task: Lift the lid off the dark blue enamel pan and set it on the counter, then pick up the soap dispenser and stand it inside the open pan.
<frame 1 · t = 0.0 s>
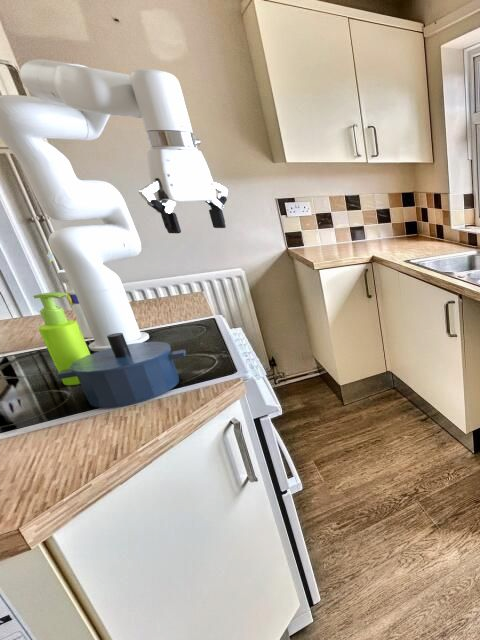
hand: (198, 230, 91), 31 cm above the worktop, tool pointing down, fingers open, 9 cm apart
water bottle: (100, 334, 126), on the worktop
pan: (136, 390, 89), on the worktop
soap dispenser: (84, 380, 95), on the worktop
pan lid: (123, 358, 86), point 7 cm above the worktop, touching pan
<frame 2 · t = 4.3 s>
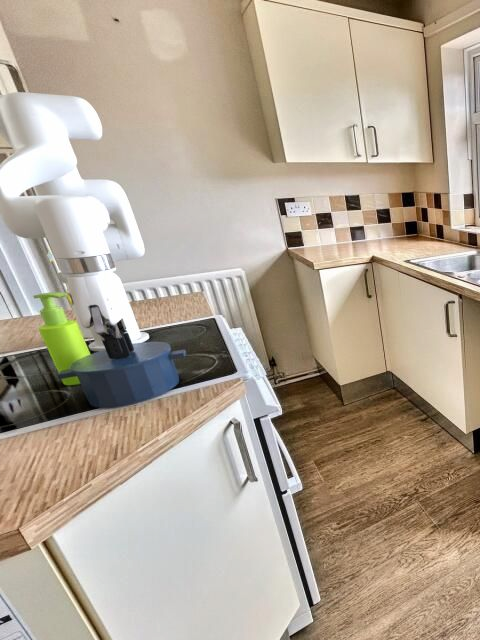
hand: (122, 354, 86), 8 cm above the worktop, tool pointing down, fingers closed on pan lid, 2 cm apart
pan lid: (123, 358, 86), point 8 cm above the worktop, touching gripper, pan
everything else where it was.
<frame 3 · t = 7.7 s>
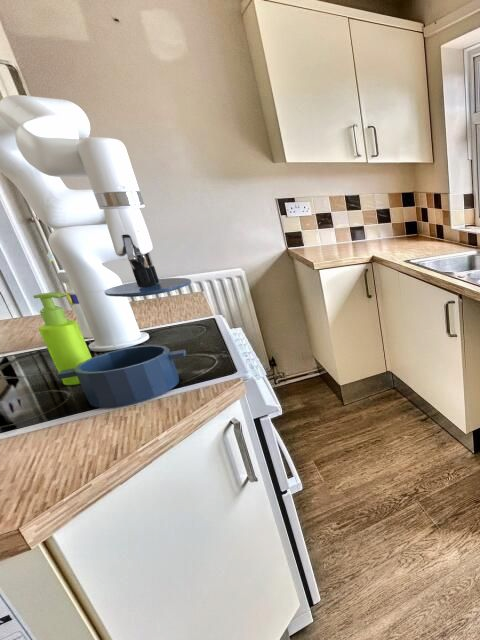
hand: (149, 284, 97), 19 cm above the worktop, tool pointing down, fingers closed on pan lid, 2 cm apart
pan lid: (150, 287, 97), point 18 cm above the worktop, touching gripper
everything else where it was.
when the fingers open (1 cm above the worktop, at t = 11.3 s): pan lid stays where it is, point 1 cm above the worktop.
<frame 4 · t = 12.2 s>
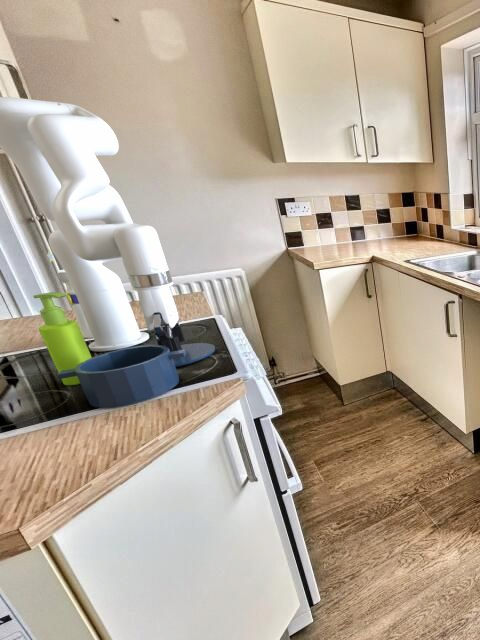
hand: (174, 348, 104), 3 cm above the worktop, tool pointing down, fingers open, 9 cm apart
pan lid: (178, 356, 105), point 1 cm above the worktop
everything else where it was.
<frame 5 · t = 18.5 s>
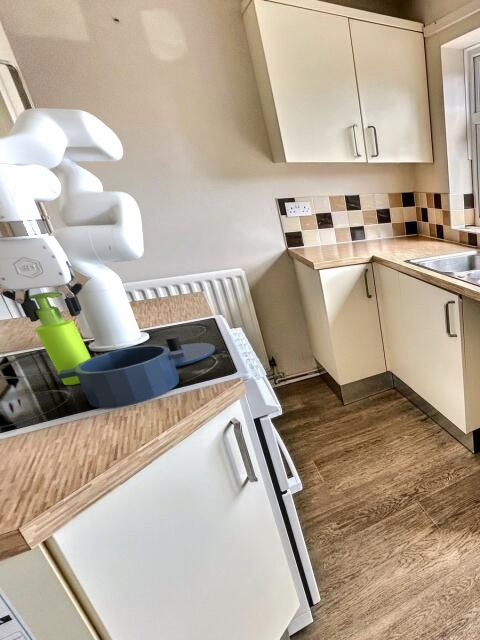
hand: (56, 316, 90), 15 cm above the worktop, tool pointing down, fingers closed on soap dispenser, 5 cm apart
soap dispenser: (84, 379, 95), on the worktop, touching gripper
everything else where it was.
when the fingers open (15 cm above the worktop, at t = 25.7 s): soap dispenser stays where it is, resting on pan.
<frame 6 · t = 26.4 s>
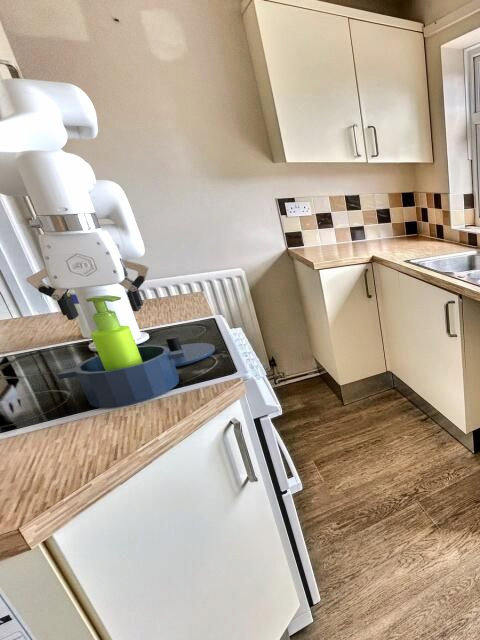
hand: (106, 313, 83), 17 cm above the worktop, tool pointing down, fingers open, 9 cm apart
soap dispenser: (135, 389, 89), resting on pan
everything else where it was.
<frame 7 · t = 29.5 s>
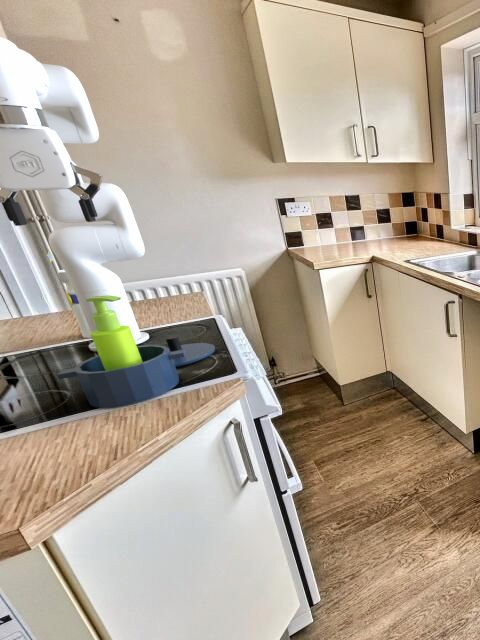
hand: (57, 223, 79), 34 cm above the worktop, tool pointing down, fingers open, 9 cm apart
nothing on the worktop moved.
at the end: soap dispenser inside the target area in the pan (0.0 cm from its centre), point 0.3 cm above the pan's base; soap dispenser tilted 0°; pan lid inside the target area on the worktop beside the pan (0.1 cm from its centre), point 0.6 cm above the worktop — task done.
